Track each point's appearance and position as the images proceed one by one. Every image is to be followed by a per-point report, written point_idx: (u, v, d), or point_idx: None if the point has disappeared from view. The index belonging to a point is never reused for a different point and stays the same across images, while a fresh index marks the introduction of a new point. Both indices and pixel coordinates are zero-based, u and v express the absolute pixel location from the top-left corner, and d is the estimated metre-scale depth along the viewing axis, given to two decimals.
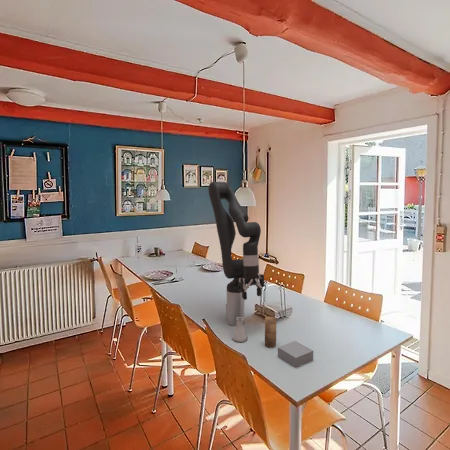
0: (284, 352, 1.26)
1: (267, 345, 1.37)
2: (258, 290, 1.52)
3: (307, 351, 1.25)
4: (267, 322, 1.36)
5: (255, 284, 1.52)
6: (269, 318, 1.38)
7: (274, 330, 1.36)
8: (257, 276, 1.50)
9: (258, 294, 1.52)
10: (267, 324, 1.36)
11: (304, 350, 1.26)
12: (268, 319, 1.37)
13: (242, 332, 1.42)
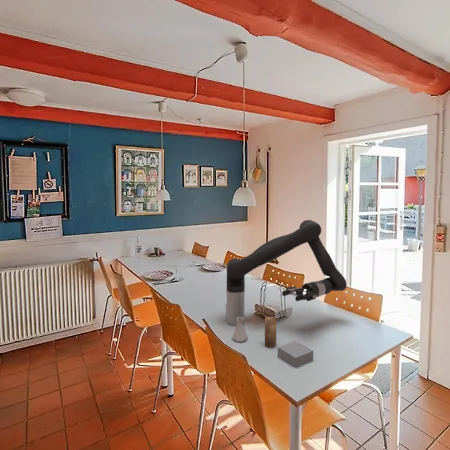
0: (284, 352, 1.26)
1: (267, 345, 1.37)
2: (287, 293, 1.47)
3: (307, 351, 1.25)
4: (267, 322, 1.36)
5: (293, 290, 1.48)
6: (269, 318, 1.38)
7: (274, 330, 1.36)
8: None
9: (284, 293, 1.46)
10: (267, 324, 1.36)
11: (304, 350, 1.26)
12: (268, 319, 1.37)
13: (242, 332, 1.42)
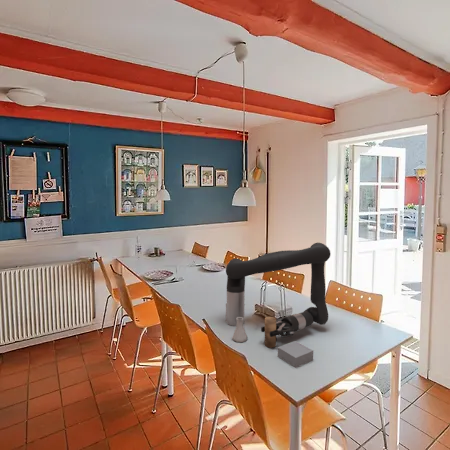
0: (284, 352, 1.26)
1: (267, 345, 1.37)
2: None
3: (307, 351, 1.25)
4: (267, 322, 1.36)
5: None
6: (269, 318, 1.38)
7: None
8: None
9: (263, 329, 1.39)
10: (267, 324, 1.36)
11: (304, 350, 1.26)
12: (268, 319, 1.37)
13: (242, 332, 1.42)
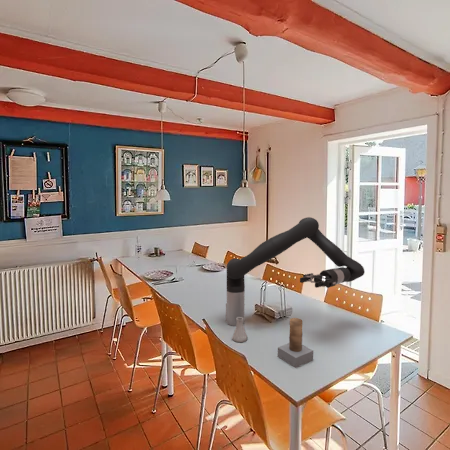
0: (284, 352, 1.26)
1: (292, 349, 1.25)
2: (305, 280, 1.42)
3: (307, 351, 1.25)
4: (293, 324, 1.24)
5: (311, 277, 1.42)
6: (294, 319, 1.27)
7: (300, 332, 1.25)
8: None
9: (302, 280, 1.41)
10: (292, 326, 1.25)
11: (304, 350, 1.26)
12: (293, 320, 1.26)
13: (242, 332, 1.42)
